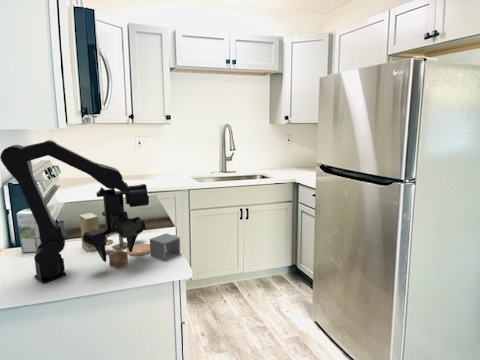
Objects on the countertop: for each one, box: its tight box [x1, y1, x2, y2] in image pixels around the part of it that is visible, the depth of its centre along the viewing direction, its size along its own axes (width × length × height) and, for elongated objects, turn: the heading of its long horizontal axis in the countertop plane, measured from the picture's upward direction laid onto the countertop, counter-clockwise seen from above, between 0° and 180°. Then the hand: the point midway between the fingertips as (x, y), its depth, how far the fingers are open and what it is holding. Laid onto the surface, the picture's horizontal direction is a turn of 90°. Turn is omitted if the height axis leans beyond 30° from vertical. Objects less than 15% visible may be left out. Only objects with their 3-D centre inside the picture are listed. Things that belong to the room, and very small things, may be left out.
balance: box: [104, 234, 128, 251], centre depth 123 cm, size 16×4×9 cm, turn 142°
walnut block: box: [108, 250, 129, 270], centre depth 109 cm, size 4×4×4 cm
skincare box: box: [79, 212, 100, 253], centre depth 122 cm, size 6×4×12 cm
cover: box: [149, 232, 181, 262], centre depth 116 cm, size 7×7×6 cm
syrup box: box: [16, 208, 41, 254], centre depth 121 cm, size 6×6×14 cm
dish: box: [126, 243, 151, 257], centre depth 120 cm, size 9×9×1 cm
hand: (118, 256), depth 109 cm, fingers open, 9 cm apart
